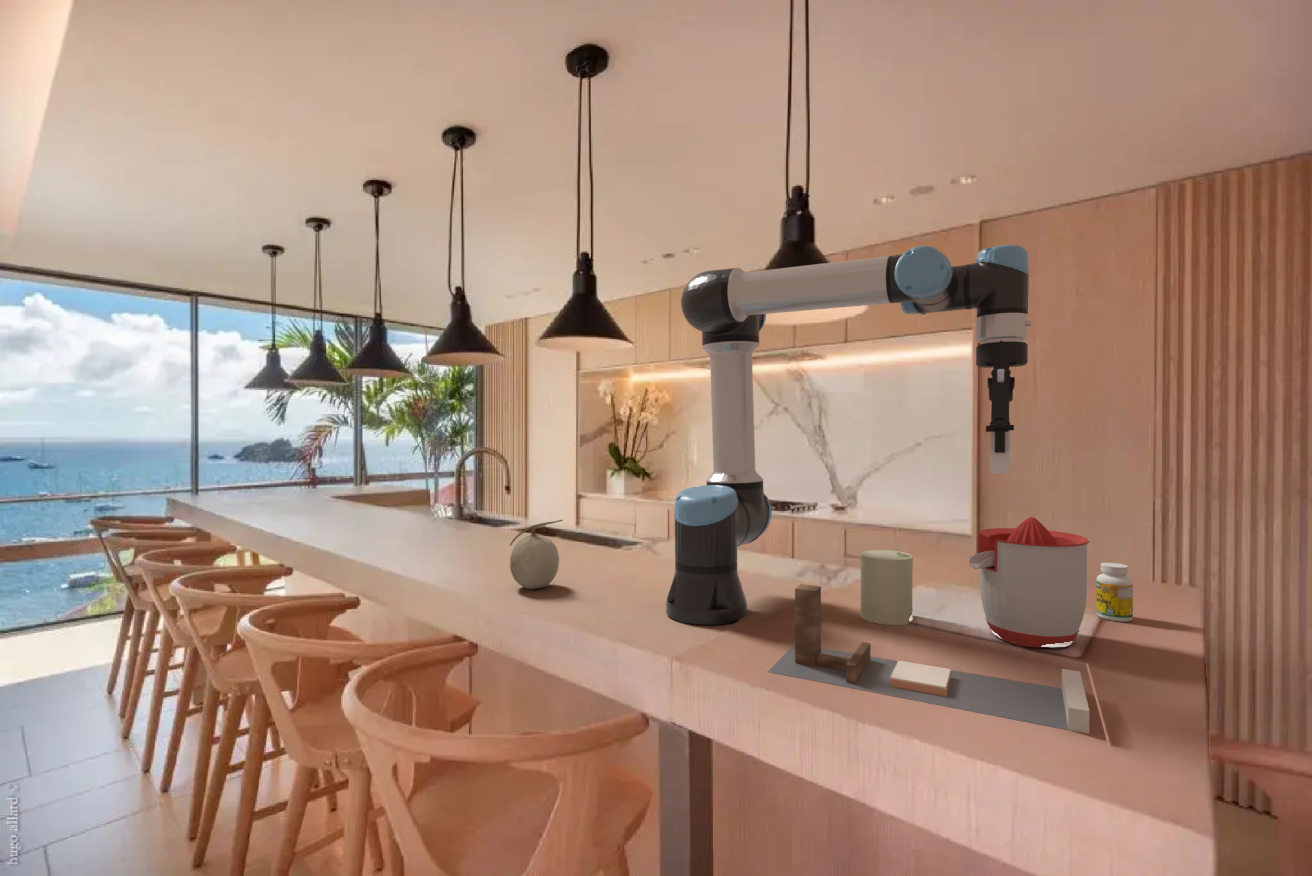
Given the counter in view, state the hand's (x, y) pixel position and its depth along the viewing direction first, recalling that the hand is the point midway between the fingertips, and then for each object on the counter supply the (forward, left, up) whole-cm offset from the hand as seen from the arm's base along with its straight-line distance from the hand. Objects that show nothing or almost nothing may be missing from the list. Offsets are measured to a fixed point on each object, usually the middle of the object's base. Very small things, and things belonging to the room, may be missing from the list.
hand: (1000, 470), depth 107 cm
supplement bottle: (+18, +20, -28) cm, 38 cm away
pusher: (-21, -28, -27) cm, 44 cm away
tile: (-9, -28, -27) cm, 40 cm away
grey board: (-9, -28, -27) cm, 40 cm away
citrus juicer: (+4, 0, -28) cm, 28 cm away
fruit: (-89, -13, -28) cm, 94 cm away
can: (-18, +1, -28) cm, 33 cm away
